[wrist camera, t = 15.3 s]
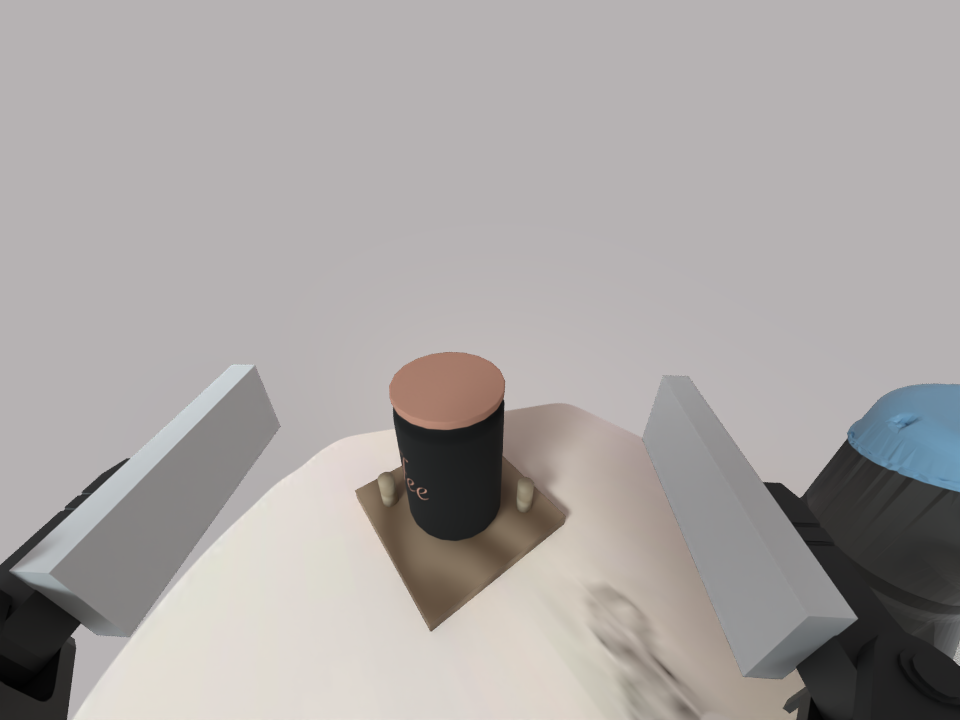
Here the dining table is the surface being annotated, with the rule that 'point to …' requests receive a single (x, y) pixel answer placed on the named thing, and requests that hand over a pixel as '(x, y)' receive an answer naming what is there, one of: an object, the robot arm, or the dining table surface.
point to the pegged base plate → (457, 564)
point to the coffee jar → (450, 441)
